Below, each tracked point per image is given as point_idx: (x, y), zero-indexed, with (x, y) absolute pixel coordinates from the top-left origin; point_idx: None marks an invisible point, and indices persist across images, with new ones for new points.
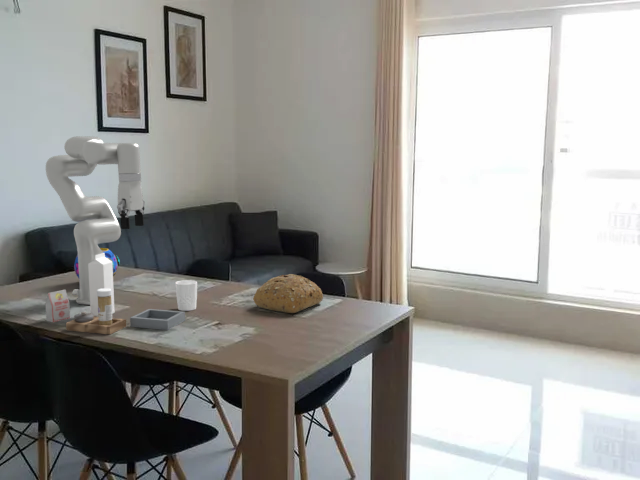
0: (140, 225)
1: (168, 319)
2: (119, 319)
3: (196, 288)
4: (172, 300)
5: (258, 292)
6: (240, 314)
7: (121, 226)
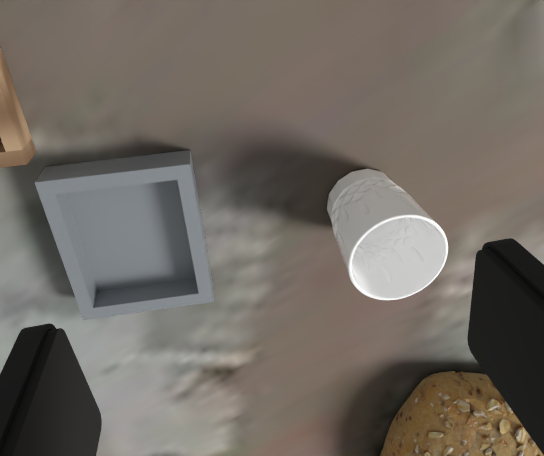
0: (469, 320)
1: (98, 313)
2: (6, 141)
3: (392, 281)
4: (477, 67)
5: (432, 423)
6: (340, 370)
7: (14, 359)
